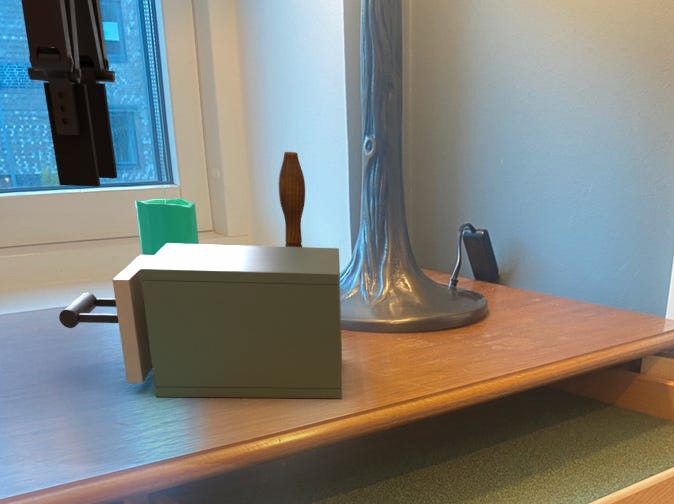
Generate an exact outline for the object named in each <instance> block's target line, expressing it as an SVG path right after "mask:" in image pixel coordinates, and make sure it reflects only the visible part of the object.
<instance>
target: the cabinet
mask: <svg viewBox="0 0 674 504" xmlns="http://www.w3.org/2000/svg"><path fill="white" fill-rule="evenodd" d="M340 270H341V269H340V248H338V247H307V246H306V247H305V246H302V247H285V246H277V245H276V246H275V245H274V246H273V245H271V246H270V245H238V244H237V245H236V244H235V245H234V244H205V243H203V244H202V243H201V244H200V243H199V244H171V243H167V244H166V245H165V246H164V247H162V248H161V249H160V250H159V251H158V252H157V253H156V254H155V255H154V256H153V257H152V258H151V259H150V260H149V261H148V262H147V263H146V264H145V265H144V266H143V267H142V268H141V269H140V274H141V280H142V289H143V297H144V305H145V313H146V321H147V328H148V336H149V344H150V352H151V360H152V375H153V382H154V390H155V391H154V392H155V397H156V398H230V399H231V398H237V399H241V398H242V399H243V398H244V399H245V398H247V399H249V398H251V399H343V343H342V339H343V338H342V307H341V306H342V305H341V273H340V272H341V271H340Z"/></svg>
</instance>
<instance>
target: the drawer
mask: <svg viewBox="0 0 674 504" xmlns="http://www.w3.org/2000/svg"><path fill="white" fill-rule="evenodd" d="M153 256H154V255H142V254H139V255H138V256H137V257H136V258H134V260H133V261H131V262H130V263H129V264H128V265H127V266H126V267H125V268H123V270H121V271H120V272H119V273H118V274H117V275H116V276H115V277H114V278H113V279H112V286H113V293H114V294H113V295H114V297H112V298H111V297H96V296H95V294H93V293H91V292H87V291H86V292H83V293H82V294H80V295H79V296H78V297H77V298H75V300H74V301H72V302H71V303H69V305H67V306H66V307H65V308H63V310H61V312H59V316H58V318H59V322H60V323H61V325H62V326H64V327H65V328H67V329H74V328H75V327H77V326H78V325H79V324H80V323H81V324H83V323H87V324H89V323H91V324H118V328H119V335H120V344H121V349H122V356H123V357H122V358H123V364H124V371H125V378H126V383H127V384H143V383H144V381H146V379H147V377H148V375H150V373H151V371H152V370H153V368H152V360H151V352H150V344H149V336H148V328H147V321H146V313H145V305H144V297H143V289H142V280H141V274H140V269H141V268H142V267H143V266H144V265H145V264H146V263H147V262H148V261H149V260H150V259H151V258H152V257H153ZM97 307H100V308H101V307H103V308H108V307H109V308H116V313H91V312H93V311H94V310H95V309H96V308H97Z"/></svg>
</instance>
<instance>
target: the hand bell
mask: <svg viewBox="0 0 674 504" xmlns="http://www.w3.org/2000/svg"><path fill="white" fill-rule="evenodd" d="M282 158H283V159H282V163H281V165H280V166H281V167H280V169H279V174H278V175H279V176H278V195H279V203H280V207H281V211H282V214H283V218H284V225H285V228H284V229H285V231H284V232H285V237H284V238H285V239H284V240H285V241H284V242H285V244H284V247H303V244H302V242H303V240H302V239H303V238H302V217H303V213H304V208H305V204H306V181H305V177H304V173H303V170H302V165H301V163H300V159H299V154H298V152H296V151H294V152H293V151H285V152H283V157H282Z"/></svg>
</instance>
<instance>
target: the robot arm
mask: <svg viewBox="0 0 674 504" xmlns="http://www.w3.org/2000/svg"><path fill="white" fill-rule="evenodd" d="M20 2H21V8H22V15H23V21H24V28H25V34H26V40H27V47H28V55H29V56H28V60H29V64H30V66H31V67H27V73H28V78H29V80H30V81H32V82H43V90H44V96H45V102H46V110H47V114H48V122H49V127H50V133H51V142H52V146H53V151H54V152H53V153H54V159H55V164H56V171H57V177H58V184H59V186H68V187H69V186H71V187H100V186H101V181H100V180H101V179H118V169H117V162H116V155H115V154H116V153H115V148H114V140H113V139H114V138H113V133H112V125H111V117H110V116H111V115H110V109H109V101H108V95H107V88H106V83H114V84H115V83H116V71H115V70H110V61H109V59H108V58H109V57H108V52H107V51H108V50H107V46H106V37H105V36H106V35H105V30H104V23H103V15H102V10H101V9H102V8H101V1H100V0H20Z"/></svg>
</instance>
